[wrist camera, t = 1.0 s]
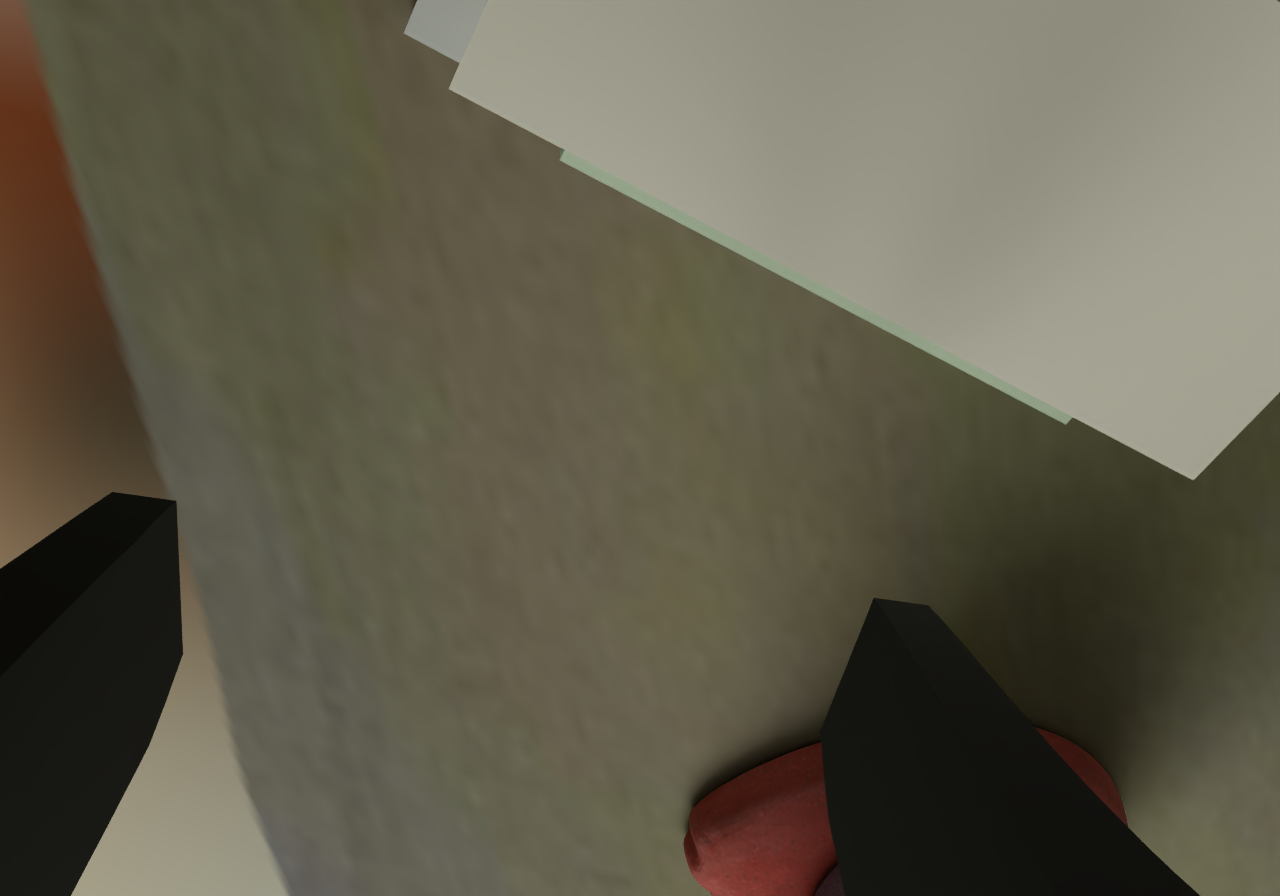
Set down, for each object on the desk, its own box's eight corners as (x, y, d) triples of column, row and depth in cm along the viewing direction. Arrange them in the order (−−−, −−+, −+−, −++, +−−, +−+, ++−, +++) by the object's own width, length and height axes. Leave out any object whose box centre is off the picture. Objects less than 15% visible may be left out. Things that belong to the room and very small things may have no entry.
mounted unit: (1335, 22, 17) (1636, 127, 12) (1050, 363, 20) (1194, 558, 15) (623, -490, 14) (630, -645, 9) (414, 20, 17) (328, 125, 12)
